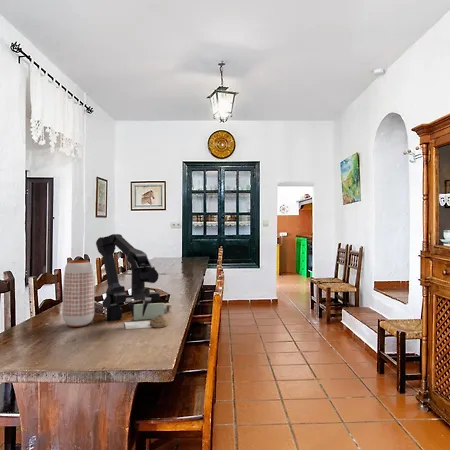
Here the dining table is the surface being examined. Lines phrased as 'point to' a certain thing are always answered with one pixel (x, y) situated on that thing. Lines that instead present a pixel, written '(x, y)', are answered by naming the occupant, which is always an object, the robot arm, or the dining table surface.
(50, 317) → the dining table surface
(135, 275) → the robot arm
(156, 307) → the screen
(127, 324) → the tile
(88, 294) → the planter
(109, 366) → the dining table surface
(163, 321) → the seashell
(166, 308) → the small beige block
